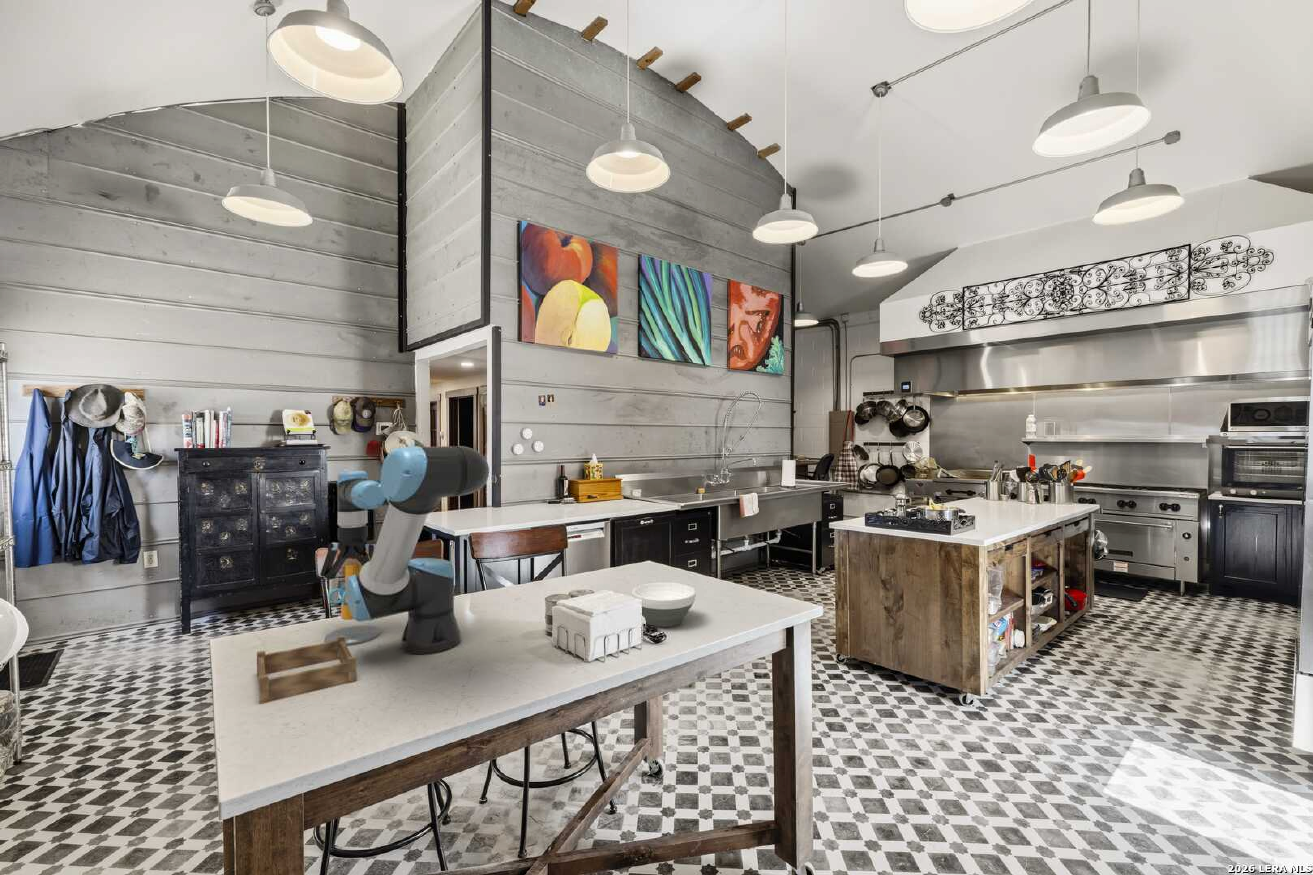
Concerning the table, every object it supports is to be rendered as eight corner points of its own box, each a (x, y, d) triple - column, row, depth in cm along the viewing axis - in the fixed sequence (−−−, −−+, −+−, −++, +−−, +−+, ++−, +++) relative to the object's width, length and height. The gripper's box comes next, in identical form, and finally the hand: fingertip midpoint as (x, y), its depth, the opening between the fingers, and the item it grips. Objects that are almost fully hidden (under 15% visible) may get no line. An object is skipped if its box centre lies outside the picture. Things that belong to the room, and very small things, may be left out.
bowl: (656, 607, 185) (656, 579, 185) (707, 619, 174) (707, 588, 174) (619, 624, 170) (619, 592, 170) (672, 637, 158) (672, 604, 158)
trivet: (390, 629, 165) (390, 626, 165) (359, 647, 151) (359, 644, 151) (347, 627, 167) (347, 624, 167) (312, 644, 153) (312, 641, 153)
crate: (343, 655, 145) (343, 635, 145) (356, 680, 130) (356, 657, 130) (256, 674, 134) (256, 651, 134) (259, 703, 119) (259, 678, 119)
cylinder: (344, 610, 165) (344, 559, 165) (380, 609, 166) (380, 558, 165) (322, 624, 153) (322, 569, 152) (362, 623, 153) (362, 568, 153)
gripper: (399, 524, 161) (399, 600, 161) (324, 522, 164) (324, 596, 164) (382, 528, 153) (382, 608, 154) (305, 526, 157) (305, 604, 157)
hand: (352, 602), depth 159 cm, fingers closed on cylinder, 11 cm apart
